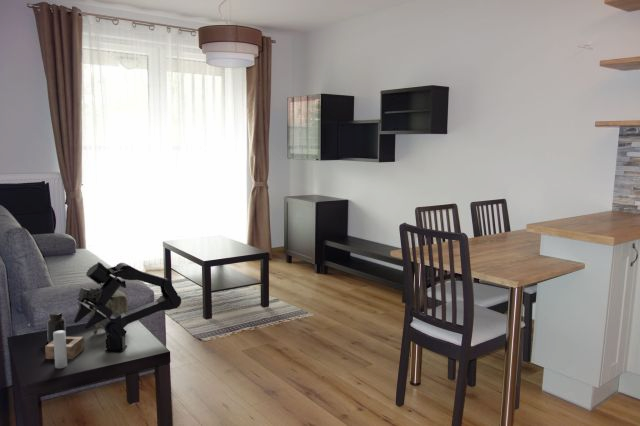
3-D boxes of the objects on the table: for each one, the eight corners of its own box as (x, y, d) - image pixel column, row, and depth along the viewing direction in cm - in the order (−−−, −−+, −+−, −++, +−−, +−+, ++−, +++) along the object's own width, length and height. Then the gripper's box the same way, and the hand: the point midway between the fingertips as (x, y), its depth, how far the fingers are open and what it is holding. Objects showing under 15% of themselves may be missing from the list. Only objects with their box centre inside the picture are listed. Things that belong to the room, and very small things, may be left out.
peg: (69, 363, 192) (67, 330, 190) (64, 368, 188) (61, 334, 186) (58, 363, 192) (56, 330, 190) (53, 368, 188) (50, 334, 186)
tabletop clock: (122, 325, 232) (120, 271, 228) (130, 331, 225) (128, 275, 222) (89, 333, 222) (86, 277, 218) (97, 339, 215) (94, 281, 212)
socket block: (84, 348, 206) (83, 336, 205) (71, 359, 196) (71, 346, 195) (59, 348, 206) (58, 336, 205) (45, 358, 196) (45, 346, 195)
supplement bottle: (58, 344, 210) (56, 316, 208) (44, 343, 211) (42, 315, 209) (70, 338, 216) (68, 310, 215) (55, 337, 218) (54, 309, 216)
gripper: (81, 275, 201) (53, 308, 195) (103, 284, 189) (74, 320, 182) (101, 290, 208) (75, 323, 202) (124, 300, 196) (97, 335, 189)
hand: (80, 325), depth 194 cm, fingers open, 9 cm apart
